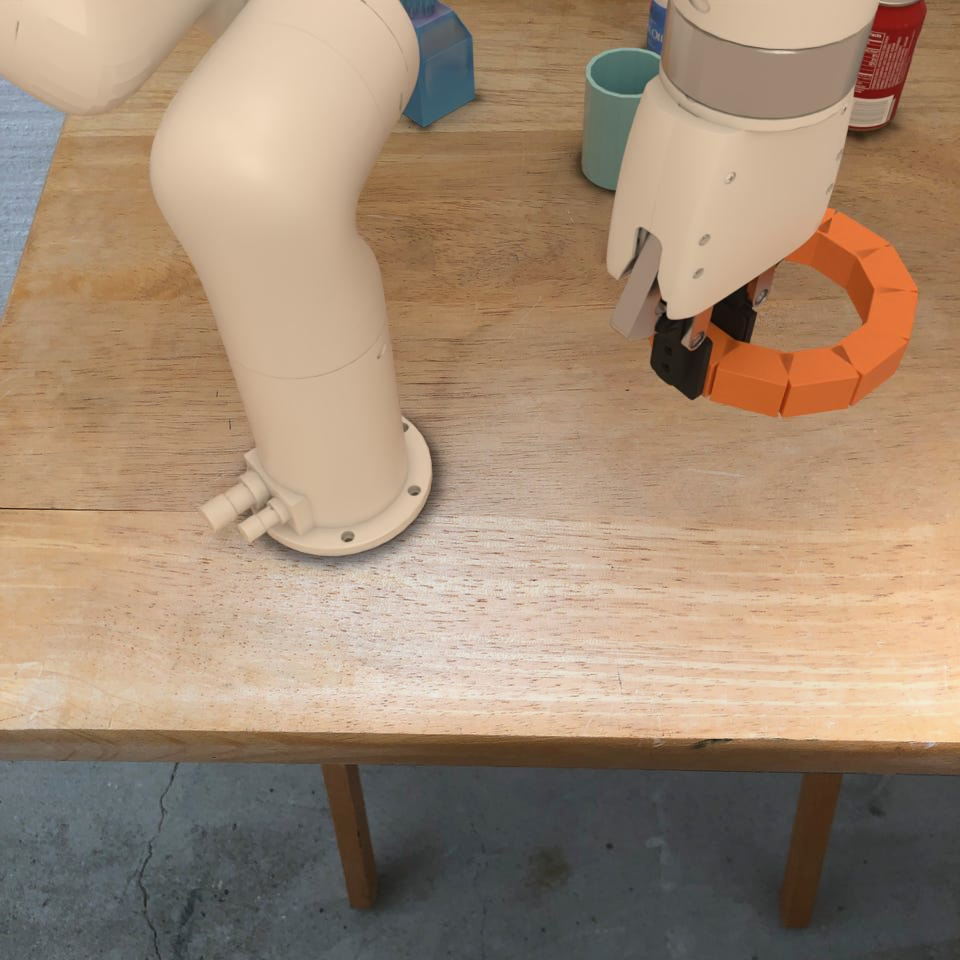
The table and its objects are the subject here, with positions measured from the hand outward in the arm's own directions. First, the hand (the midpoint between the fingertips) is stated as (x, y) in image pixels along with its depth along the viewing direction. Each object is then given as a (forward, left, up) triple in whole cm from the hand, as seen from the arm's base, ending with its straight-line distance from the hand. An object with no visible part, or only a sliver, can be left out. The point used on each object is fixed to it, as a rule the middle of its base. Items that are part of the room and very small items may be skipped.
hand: (696, 365), depth 56 cm
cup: (+26, +30, -18) cm, 43 cm away
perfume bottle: (+20, +49, -18) cm, 56 cm away
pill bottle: (+41, +38, -18) cm, 59 cm away
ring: (+6, 0, 0) cm, 6 cm away
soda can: (+46, +21, -18) cm, 54 cm away
